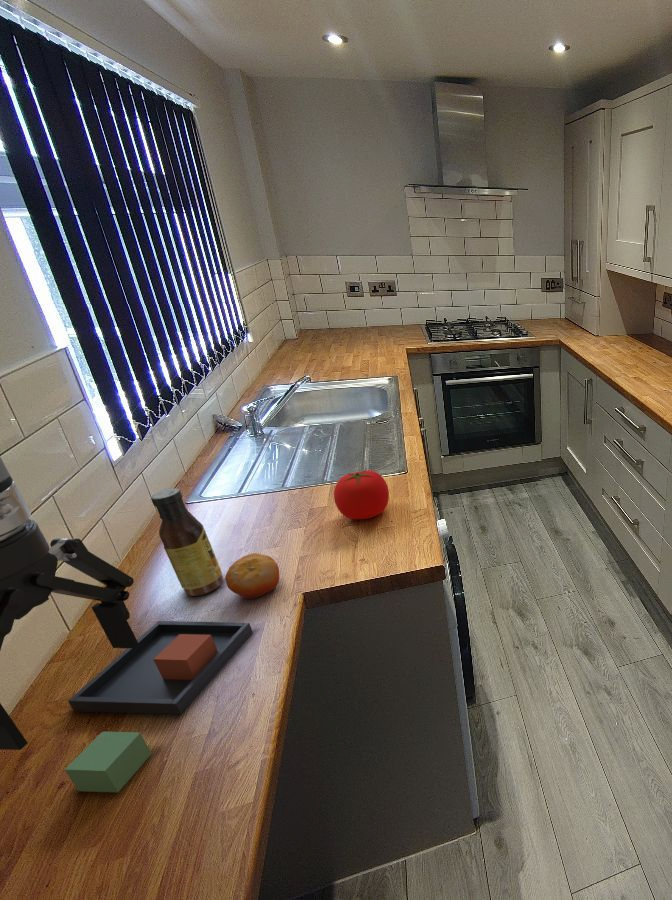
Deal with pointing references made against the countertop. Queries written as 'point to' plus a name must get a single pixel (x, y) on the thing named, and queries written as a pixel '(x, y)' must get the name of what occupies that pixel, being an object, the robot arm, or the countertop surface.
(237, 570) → the fruit
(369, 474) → the tomato
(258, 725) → the countertop surface
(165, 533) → the sauce bottle
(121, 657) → the tray
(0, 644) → the robot arm
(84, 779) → the green block
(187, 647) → the reddish brown block
